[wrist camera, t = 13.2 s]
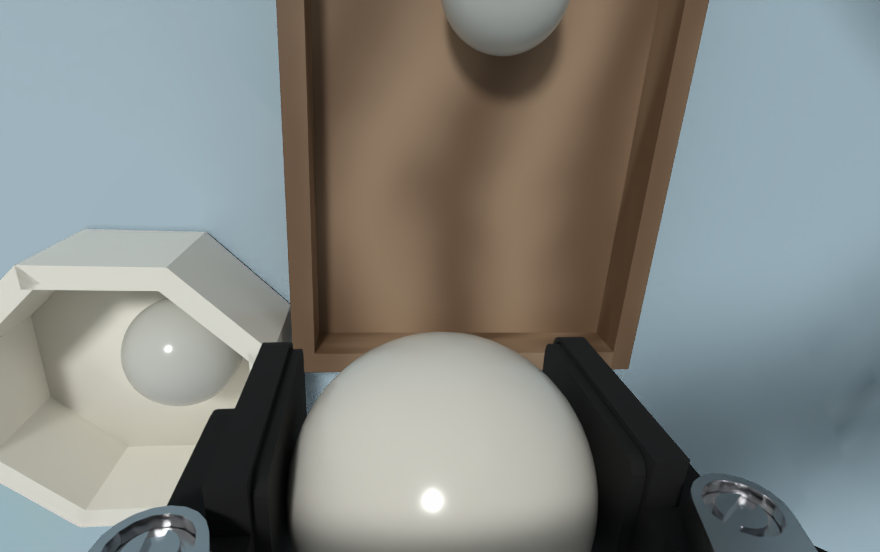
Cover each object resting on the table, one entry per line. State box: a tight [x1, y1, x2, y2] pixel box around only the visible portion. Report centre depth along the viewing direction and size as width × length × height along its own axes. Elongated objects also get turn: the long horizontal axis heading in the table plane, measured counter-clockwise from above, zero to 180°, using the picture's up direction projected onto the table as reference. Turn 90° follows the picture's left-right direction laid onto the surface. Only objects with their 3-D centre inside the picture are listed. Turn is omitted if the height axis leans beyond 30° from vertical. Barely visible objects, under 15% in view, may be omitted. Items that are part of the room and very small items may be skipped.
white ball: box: [121, 298, 243, 406], centre depth 23 cm, size 5×5×5 cm
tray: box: [276, 0, 709, 372], centre depth 23 cm, size 17×21×3 cm
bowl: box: [0, 229, 292, 527], centre depth 24 cm, size 13×13×5 cm
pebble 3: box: [286, 332, 598, 552], centre depth 9 cm, size 5×5×5 cm
